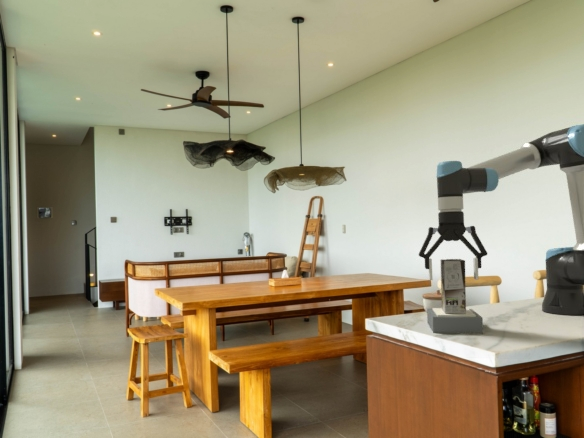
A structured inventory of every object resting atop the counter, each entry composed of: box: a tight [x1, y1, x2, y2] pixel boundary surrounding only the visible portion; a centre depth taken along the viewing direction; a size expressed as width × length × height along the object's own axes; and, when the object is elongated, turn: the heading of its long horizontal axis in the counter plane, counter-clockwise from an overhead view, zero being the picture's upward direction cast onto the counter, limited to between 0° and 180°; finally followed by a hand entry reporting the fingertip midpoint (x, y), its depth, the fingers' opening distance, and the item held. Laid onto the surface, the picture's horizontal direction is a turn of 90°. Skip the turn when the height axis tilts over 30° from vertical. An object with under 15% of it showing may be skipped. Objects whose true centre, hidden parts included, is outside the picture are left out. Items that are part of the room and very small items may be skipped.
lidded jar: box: [422, 289, 442, 314], centre depth 172 cm, size 11×11×9 cm
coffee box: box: [439, 258, 467, 314], centre depth 153 cm, size 9×6×16 cm
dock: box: [426, 307, 484, 335], centre depth 152 cm, size 14×16×5 cm
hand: (453, 279), depth 153 cm, fingers open, 13 cm apart
